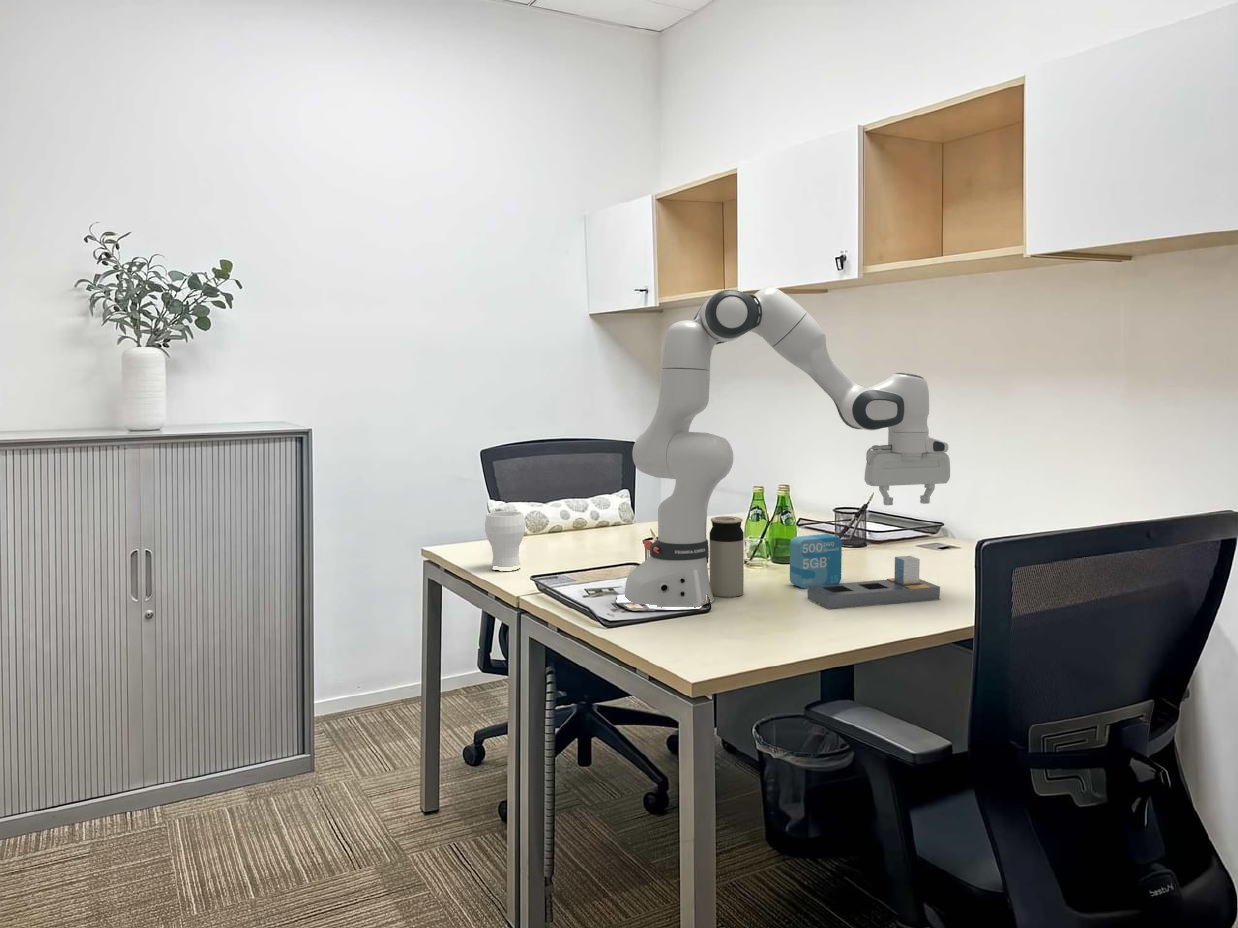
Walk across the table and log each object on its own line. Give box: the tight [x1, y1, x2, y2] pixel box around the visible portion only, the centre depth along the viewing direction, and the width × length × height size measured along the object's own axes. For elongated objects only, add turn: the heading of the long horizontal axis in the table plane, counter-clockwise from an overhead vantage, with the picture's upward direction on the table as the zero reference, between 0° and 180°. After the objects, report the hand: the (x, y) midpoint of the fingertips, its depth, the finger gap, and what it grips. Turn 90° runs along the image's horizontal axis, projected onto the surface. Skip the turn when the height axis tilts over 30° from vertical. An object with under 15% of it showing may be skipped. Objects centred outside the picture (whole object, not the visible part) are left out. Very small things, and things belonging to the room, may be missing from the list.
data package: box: [789, 533, 843, 589], centre depth 231 cm, size 12×4×12 cm, turn 110°
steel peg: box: [893, 555, 921, 587], centre depth 219 cm, size 4×4×9 cm
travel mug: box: [709, 515, 745, 598], centre depth 223 cm, size 8×8×18 cm
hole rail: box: [807, 577, 941, 610], centre depth 217 cm, size 28×10×3 cm, turn 105°
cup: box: [484, 510, 526, 567], centre depth 254 cm, size 11×11×15 cm
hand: (906, 504), depth 218 cm, fingers open, 8 cm apart
